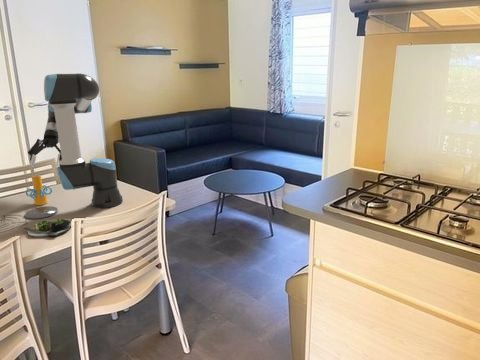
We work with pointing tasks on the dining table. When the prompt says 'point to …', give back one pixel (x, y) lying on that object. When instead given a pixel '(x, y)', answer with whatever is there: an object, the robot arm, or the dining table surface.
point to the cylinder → (38, 191)
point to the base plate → (41, 212)
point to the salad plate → (50, 228)
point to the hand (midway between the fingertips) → (44, 165)
